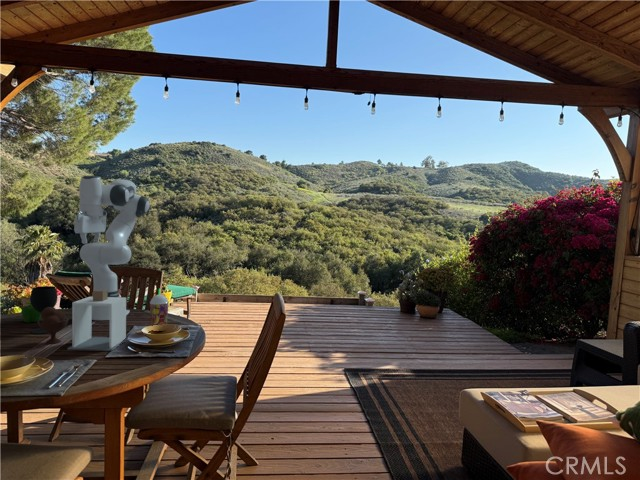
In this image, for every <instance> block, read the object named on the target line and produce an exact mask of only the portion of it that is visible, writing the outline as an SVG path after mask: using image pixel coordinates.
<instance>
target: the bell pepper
mask: <svg viewBox="0 0 640 480" xmlns="http://www.w3.org/2000/svg"><path fill="white" fill-rule="evenodd" d="M25 304H26V305H25V306H22V308H21V315H22V318H23V321H24V322H25V323H27V324H30V323H38V322H37V321H39V320H41V319H42V316H41V313H40V312H38V311H36V310H35V309H34V308H33V307H32V305H31V302H30V301H27V302H25Z"/></svg>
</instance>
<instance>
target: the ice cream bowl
mask: <svg viewBox="0 0 640 480" xmlns="http://www.w3.org/2000/svg"><path fill="white" fill-rule="evenodd" d="M36 323H37V325H38V326H39V327H38V328H41V329H42V330H43V331H45V332H47V334H49V335H50V339H47V340H46V341H45V344H46V345H57V344H60V343H61V342H62V341H61V340H60V338H58V337H57V336H56V335H57V333H59V332H60V331H62V330H64V329H65V328H66V327H67V325H68V323H69V317H66V314H65V312H63V311H62V310H60V309H57V308H55V306H54V307H47V308H45V309H44V310H43V311H42V312H41V318H40V320H39V321H37V322H36Z"/></svg>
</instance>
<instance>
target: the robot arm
mask: <svg viewBox="0 0 640 480" xmlns="http://www.w3.org/2000/svg"><path fill="white" fill-rule="evenodd" d="M78 191H79V192H78V193H79V196H78V197H79V199H80V201H79V204H78V205H79V207H78V208H79V209H78V211H79V212H78V213H77V214H76V216H75V219H74V223H73V224H74V225H73V226H74V229H73V231H74V233H75V234H79V236H80V238H81V243H82V244H83V245H82V246H81V248H80V250H79V257H80V259H81V260H82V262H84V263H85V264H86V265H87V266H88V268H89V269H90V271H91V273H92V278H93V291H95V290H108V297H120V294H121V292H122V291H121V290H122V289H118V275H117V274H116V273H115V272H113V271H112V270H111V269H110V267H109V265H117V266H119V265H122V264H127V263H128V262H130V260H131V257H132V250H131V247H130V246H128V245H127V242H128V239H129V237H130V235H131V233H132V232H133V229H134V227H135V224H136V218H137V219H139V218H141V217H142V216H145V214H147V213H148V211H149V209H150V200H149V198H148V197H146V196H145V195H139V194H137V191H138V189H137V186H136V184H135V183H134V182H133V181H131V180H130V179H117V180H116V179H115V180H114V181H112V182H110V183H109V184H102V180H101V177H100V176H99V175H83V176H81V178H80V182H79V190H78ZM103 206H107V207H109V208H110V209H112V210H116V211H120V212H119V214H117V215H116V216H115V218H114V219H112V222H111V223H110V224H109V226H108V227H107V215H108V213H107V211H106V210H105V209H104V208H103ZM106 229H107V230H106ZM90 233H91V234H92V233H94V234H93V235H94V237H93V239H92V241H93V242H90V243H88V241H89V240H88V239H87V236H88V234H90ZM101 233H105V238H106V240H107V242H100V236H101ZM92 296H93V293H92ZM130 311H131V310H130V309H126V316H128V315H129V313H130ZM92 320H93V321H110V306H92Z"/></svg>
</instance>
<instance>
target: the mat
mask: <svg viewBox="0 0 640 480" xmlns="http://www.w3.org/2000/svg"><path fill="white" fill-rule="evenodd" d="M120 343H121V342H120ZM120 343H119V344H120ZM119 344H117V345H115V346H114V347H112V348H109V337H105V336H104V337H103V336H100V337H99V336H91V338H90V339H88V340H87V341H85V342H83V343H81V344H79V345H77V346H75V347H72V345H70V346H68V347H67V349H66V350H68V351H71V350H72V351H98V352H99V351H100V352H101V351H104V352H113V351H115V350H116V349H117V348H116V347H117V346H119ZM119 347H120V346H119ZM115 348H116V349H115ZM114 349H115V350H114Z"/></svg>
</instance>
